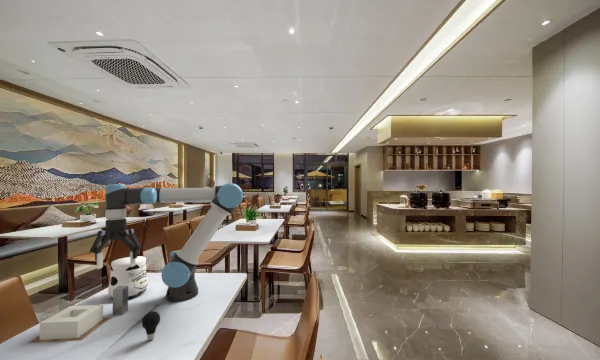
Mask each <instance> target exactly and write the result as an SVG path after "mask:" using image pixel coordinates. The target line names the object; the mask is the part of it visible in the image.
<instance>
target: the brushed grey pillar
mask: <svg viewBox="0 0 600 360" xmlns="http://www.w3.org/2000/svg"><path fill="white" fill-rule="evenodd" d="M128 311H129V298H128V286H118V287H117V288H115V289H113V298H112V316H123V315H124V314H125V313H127V312H128Z"/></svg>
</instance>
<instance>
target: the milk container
mask: <svg viewBox="0 0 600 360" xmlns="http://www.w3.org/2000/svg"><path fill="white" fill-rule="evenodd" d="M148 279H149V278H148V276H147V258H146V257H145V256H142V255H141V256H140V255H139V256H138V255H137V258H135V266H133V267H130V256H127V257H122V258H118V259H115V260H112V261H111V263H110V280H109V284H108V286H107V291H108V292H107V293H108V296H109V297H110V298H111V299H113V289H115V288H117V287H118V286H128V299H129V298H133V297H136V296H139V295H141V294H143V293H144V292H146V290H147V289H148V286H149V280H148Z"/></svg>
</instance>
